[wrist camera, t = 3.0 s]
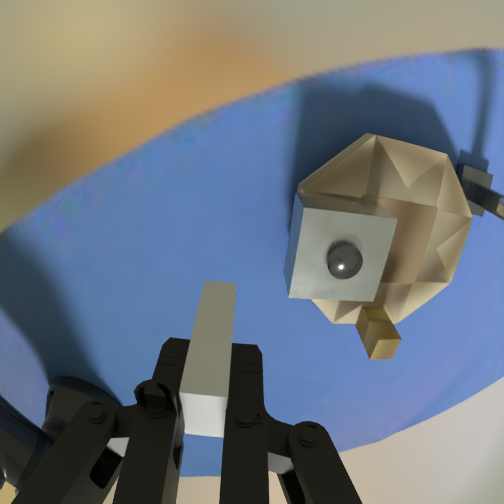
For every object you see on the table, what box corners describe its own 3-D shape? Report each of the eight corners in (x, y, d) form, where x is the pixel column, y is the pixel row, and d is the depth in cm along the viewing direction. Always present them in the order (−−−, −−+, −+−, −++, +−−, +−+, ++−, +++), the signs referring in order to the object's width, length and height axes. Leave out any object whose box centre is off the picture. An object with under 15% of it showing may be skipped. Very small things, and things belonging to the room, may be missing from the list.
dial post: (409, 198, 27) (508, 272, 14) (419, 150, 25) (532, 196, 11) (477, 213, 28) (566, 276, 14) (487, 172, 25) (584, 221, 12)
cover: (283, 271, 26) (289, 302, 22) (295, 191, 23) (305, 210, 19) (358, 276, 26) (375, 305, 22) (377, 202, 23) (401, 222, 19)
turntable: (278, 310, 30) (284, 360, 24) (306, 122, 22) (327, 125, 16) (425, 313, 31) (451, 352, 25) (472, 162, 23) (518, 181, 17)
